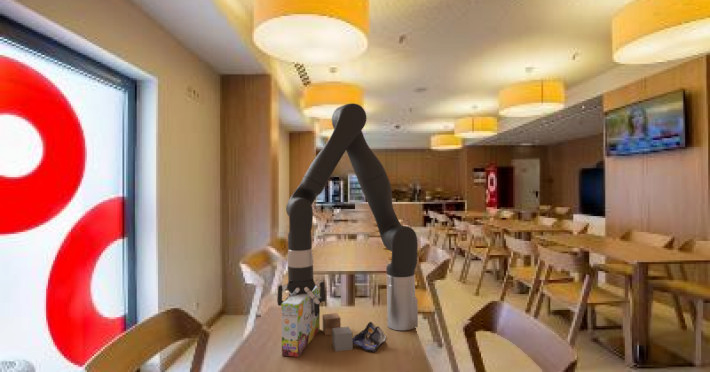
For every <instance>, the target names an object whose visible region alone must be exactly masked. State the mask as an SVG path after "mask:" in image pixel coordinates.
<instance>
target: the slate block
mask: <svg viewBox="0 0 710 372" xmlns="http://www.w3.org/2000/svg"><path fill="white" fill-rule="evenodd" d="M331 335H332V346H333V349H334V351H335V352H342V351H343V352H344V351H350V350H353V347H354V346H353V345H354V344H353V340H352V338H353V331H352V330H351V328H350V326H341V327H340V328H332V334H331Z"/></svg>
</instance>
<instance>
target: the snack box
mask: <svg viewBox="0 0 710 372" xmlns="http://www.w3.org/2000/svg"><path fill="white" fill-rule="evenodd" d="M312 292H313V293H314V294H315V296H316V297H317V298H319V297H320V289H318V288H317V286H315V287H314V289H313V290H312ZM283 301H284V302H283V303H282V306H281V356H286V357H292V358H293V357H294V358H299V357H300V355H301V354H302V352H303V351H304V350H305V349H306V348H307V346H308V345H309V344H310V343H311V341H312V340H313V339H314V338H315V337H316V335H317V334H318V333H319V332H320V331H321V328H320V324H321V323H320V314H321V313H319V314H318V316H315V314H314V303H315V302H314V300H313V299H312V298H311V297H310V296H309V295H308V294H297V295H293V296H290V297H289V298H288V299H287V300H286V301H285V300H283Z"/></svg>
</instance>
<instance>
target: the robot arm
mask: <svg viewBox="0 0 710 372" xmlns="http://www.w3.org/2000/svg"><path fill="white" fill-rule="evenodd" d="M366 123H367V113H366V110H365V109H364V108H363V107H362V106H361V105H360V104H358V103H346V104H344V105H341V106H339V107H336V109H334V111H333V113H332V114H331V125H332V127H333V131H332V133H331V135H330V137H329V139H328V140H327V141H326V144H325V145H324V146H323V148H322V149H321V150H320V151H319V153H318V154H316V156H315V158H314V159H313V161H312V162H311V163H310V165H309V167H308V169H307V170H306V172H305V173H304V175H303V178H302V180H301V181H300V184H299V185H298V186H297V188H296V189H295V190H294V191H293V193H292V195H291V196H290V197H289V199H288V201H287V203H286V206H285V210H286V214H287V216H288V217H289V232H288V233H287V234H288V235H287V246H288V250H287V284H282V283H278V284H277V296H276V297H277V300H276V303H277V306H280V307H282V303H283V302H284V301H286V300H287V299H288V298H289V297H290V296H293V295H297V294H308V295H309V296H310V297H311V298H312V299H313V300H314V302H315V303H314V314H315V316H318V314H319V313H320V304H321V303H324V302H326V291H325V289H326V288H325V282H324V281H323V279H321V280H318V281H314V255H313V254H314V253H313V243H312V242H313V241H312V240H313V239H312V228H313V219H314V218H313V217H314V215H313V214H314V211H313V206H312V205H313V203H314V202H315V200H316V198H317V197H318V196H320V195H321V194H322V193H323V191H324V189H325V188H326V186H327V184H328V181H330V179H331V176H333V175H332V174H333V173H334V171H335V169H336V167H337V166H338V164H339V162H340V161H341V159H342V158H343V156H344V154H345V152H346V153H347V156H348V159H349V161H350V164H351V166H352V169H353V172H354V174H355V176H356V178H357V182H358V183H359V186H360V189H361V190H362V193H363V195H364V198H365V199H366V202H367V204H368V207H369V208H370V209H369V210H371V212H372V215H373V217H374V220H375V222H376V226H377V230H378V232H379V236H380V239H381V242H382V244H383V246H384V247H385V248H386V249H387V250H389V251H390V252H391V262H390V263H388V264H387V265H386V269H385V271H386V314H387V315H386V318H387V319H386V320H387V323H386V324H387V327H388V328H389V329H391V330H394V331H410V330H413V329H415V328H418V327H419V323H418V320H419V317H418V316H419V315H418V314H419V312H418V308H419V307H418V297H416V277H415V276H416V275H415V274H416V272H415V271H416V267H417V263H418V246H419V245H418V236H417V233H416V231H415V230H414V229H413V228H412V227H410V226H408V225H403V224H401V222H400V220H399V219H398V217H397V214H396V212H395V209H394V206H393V191H392V190H393V189H392V185H391V181H390V178H389V176H388V174H387V172H386V169H385V167H384V166H383V164H382V163H381V161H380V160H379V158H378V157H377V156H376V154H375V153H374V152H373V150H372V148H370V147H369V145H368V143H367V140H366V139H365V136H364V133H363V131H362V130H363V129H364V127H365V126H366ZM315 286H317V288H318V289H319V298H317V297H316V296H315V294H314V293H313V292H312V290H313V289H314V287H315ZM286 289H287V290H288V292H289V293H288V294H287V296H286V298H285V299H284V300H283V293H284V292H285V290H286ZM320 314H321V313H320Z"/></svg>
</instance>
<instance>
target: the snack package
mask: <svg viewBox="0 0 710 372" xmlns="http://www.w3.org/2000/svg"><path fill="white" fill-rule="evenodd" d="M386 337H387V335H385V333H384V331H383V329H381V327H380V326H379V325H377V326H376V325H375V324H374V323H373V322H372V321H369V322H368V323H367V324H366V326H365V328H364V329H363V330H361V331H360V332H359V333H357V334H355V335H354V336H353V337H352V340H353V345H356V346H360V347H361V349H362V350H363V351H364V352H372V353H376V352H377V349H378V347H379V346H381V344H382V343H383V342H385V341H386ZM372 343H373V344H372Z"/></svg>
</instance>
